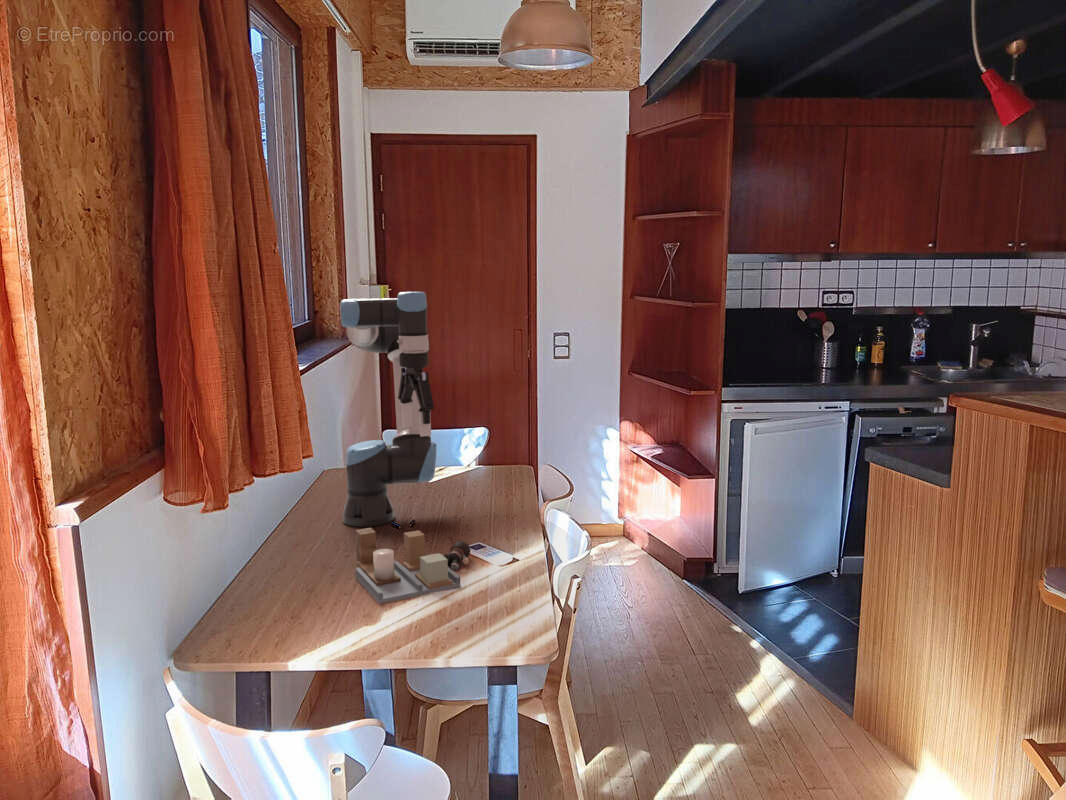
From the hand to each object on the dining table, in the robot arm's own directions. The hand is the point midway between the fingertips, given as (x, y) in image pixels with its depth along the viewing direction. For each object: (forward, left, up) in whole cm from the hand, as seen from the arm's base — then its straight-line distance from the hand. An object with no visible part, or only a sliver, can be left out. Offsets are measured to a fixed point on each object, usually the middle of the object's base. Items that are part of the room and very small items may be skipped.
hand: (416, 431), depth 222 cm
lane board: (+23, -12, -32) cm, 41 cm away
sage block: (+28, -7, -30) cm, 42 cm away
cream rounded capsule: (+21, -17, -30) cm, 40 cm away
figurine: (+17, +3, -32) cm, 36 cm away
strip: (+15, -17, -31) cm, 38 cm away
